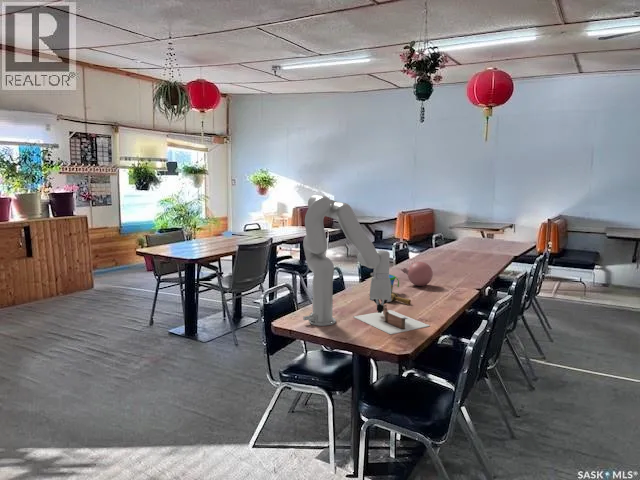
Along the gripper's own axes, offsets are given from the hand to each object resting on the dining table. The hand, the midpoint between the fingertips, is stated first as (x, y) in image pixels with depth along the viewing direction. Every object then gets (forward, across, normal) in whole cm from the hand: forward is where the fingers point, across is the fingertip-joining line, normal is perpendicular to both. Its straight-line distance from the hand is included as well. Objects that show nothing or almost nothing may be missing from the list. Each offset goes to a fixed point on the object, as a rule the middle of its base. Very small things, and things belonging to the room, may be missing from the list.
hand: (379, 312), depth 233 cm
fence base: (+2, +9, -13) cm, 16 cm away
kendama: (+2, +4, +29) cm, 30 cm away
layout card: (+2, +6, -6) cm, 9 cm away
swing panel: (+2, +3, -2) cm, 4 cm away
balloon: (+2, +13, +72) cm, 73 cm away
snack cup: (+2, -3, +49) cm, 49 cm away
